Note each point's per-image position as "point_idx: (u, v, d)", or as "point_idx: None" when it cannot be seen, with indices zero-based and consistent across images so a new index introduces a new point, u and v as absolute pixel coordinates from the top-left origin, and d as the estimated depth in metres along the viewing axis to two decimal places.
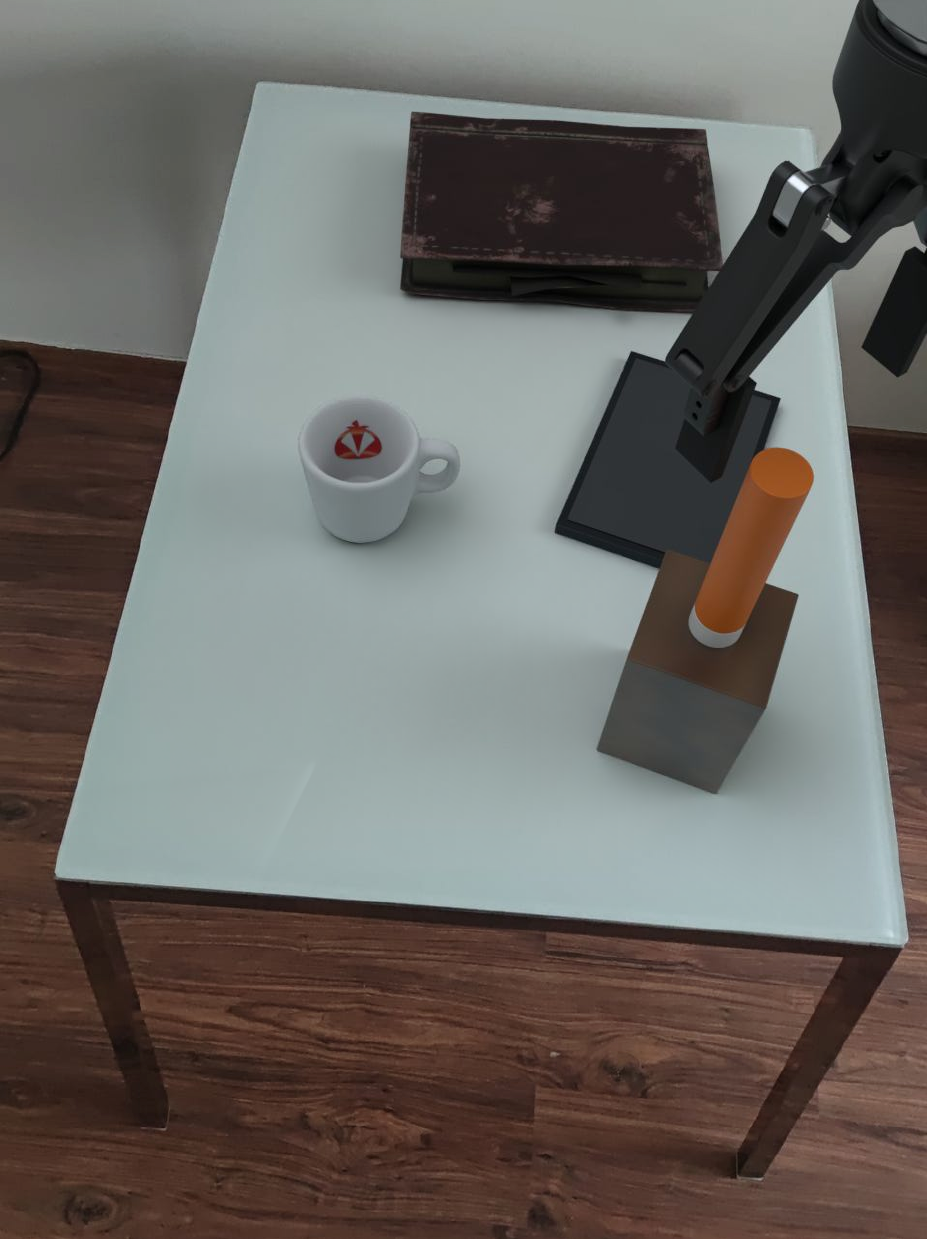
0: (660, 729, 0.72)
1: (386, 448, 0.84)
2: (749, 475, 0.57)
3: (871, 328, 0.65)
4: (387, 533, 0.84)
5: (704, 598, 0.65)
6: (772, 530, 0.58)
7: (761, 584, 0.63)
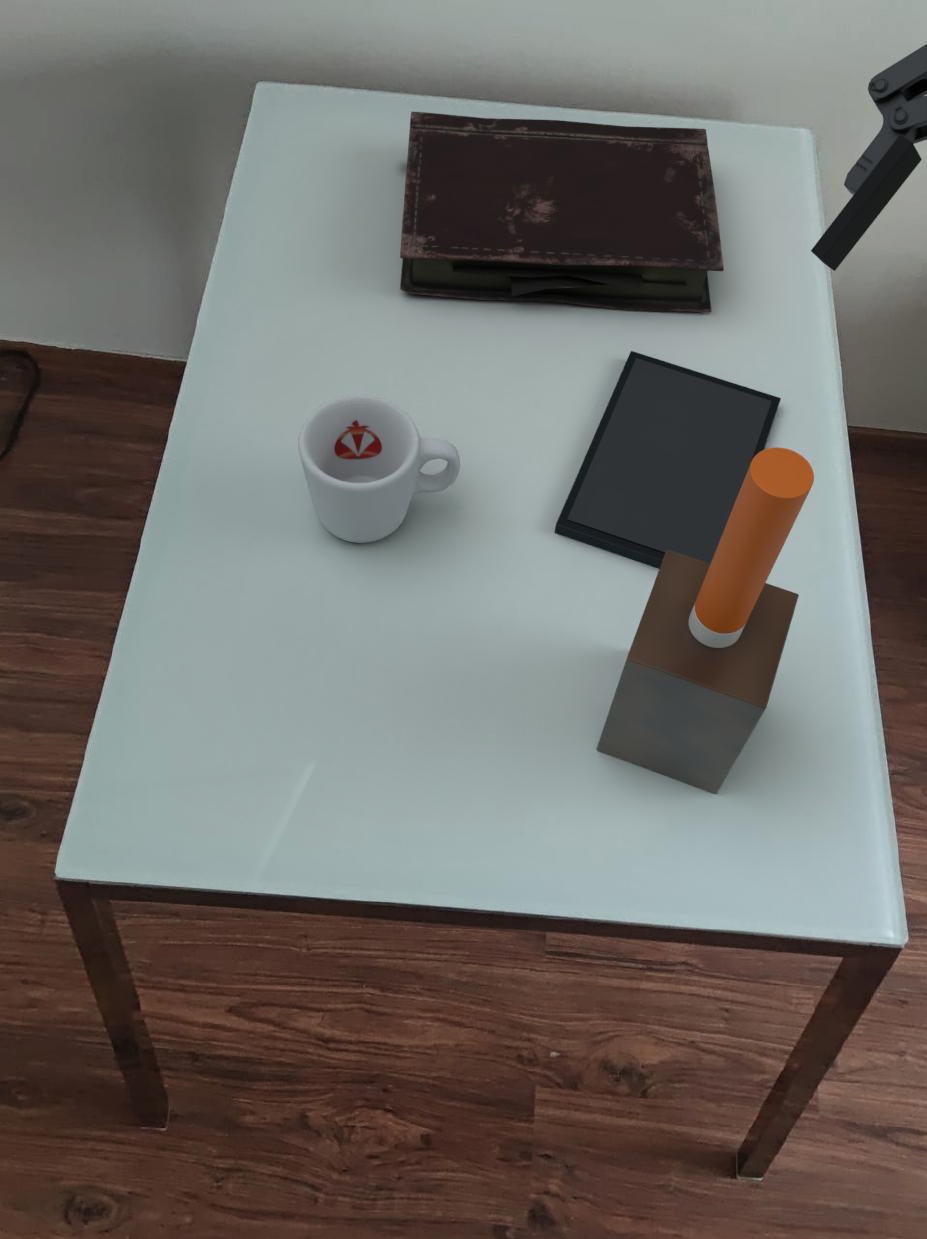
0: (660, 729, 0.72)
1: (386, 448, 0.84)
2: (749, 475, 0.57)
3: None
4: (387, 533, 0.84)
5: (704, 598, 0.65)
6: (772, 530, 0.58)
7: (761, 584, 0.63)
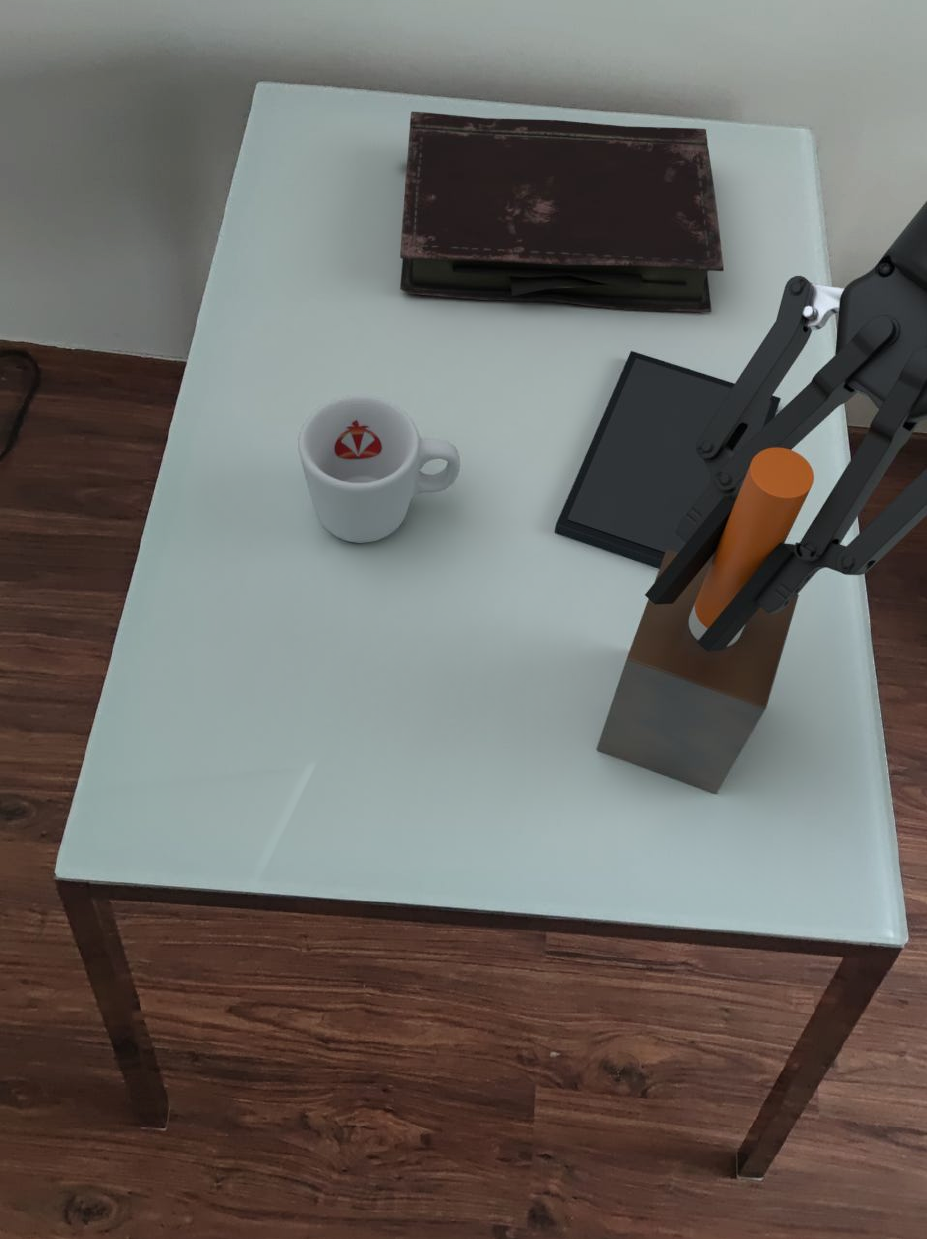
0: (660, 729, 0.72)
1: (386, 448, 0.84)
2: (749, 475, 0.57)
3: None
4: (387, 533, 0.84)
5: (704, 598, 0.65)
6: (772, 530, 0.58)
7: None
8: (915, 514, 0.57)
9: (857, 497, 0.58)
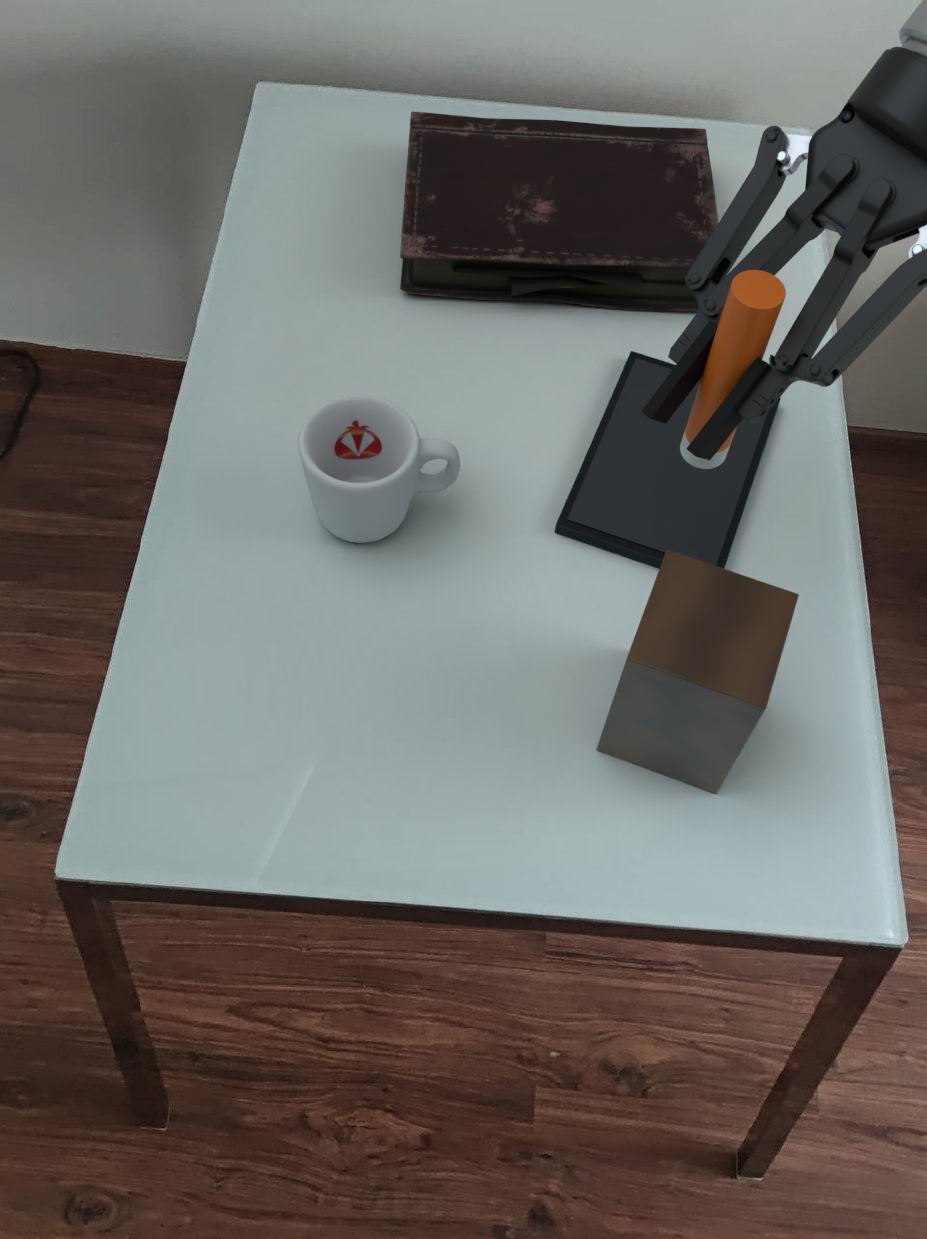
0: (660, 729, 0.72)
1: (386, 448, 0.84)
2: (730, 292, 0.67)
3: None
4: (387, 533, 0.84)
5: (693, 419, 0.75)
6: (750, 343, 0.68)
7: None
8: (872, 324, 0.66)
9: (823, 313, 0.67)
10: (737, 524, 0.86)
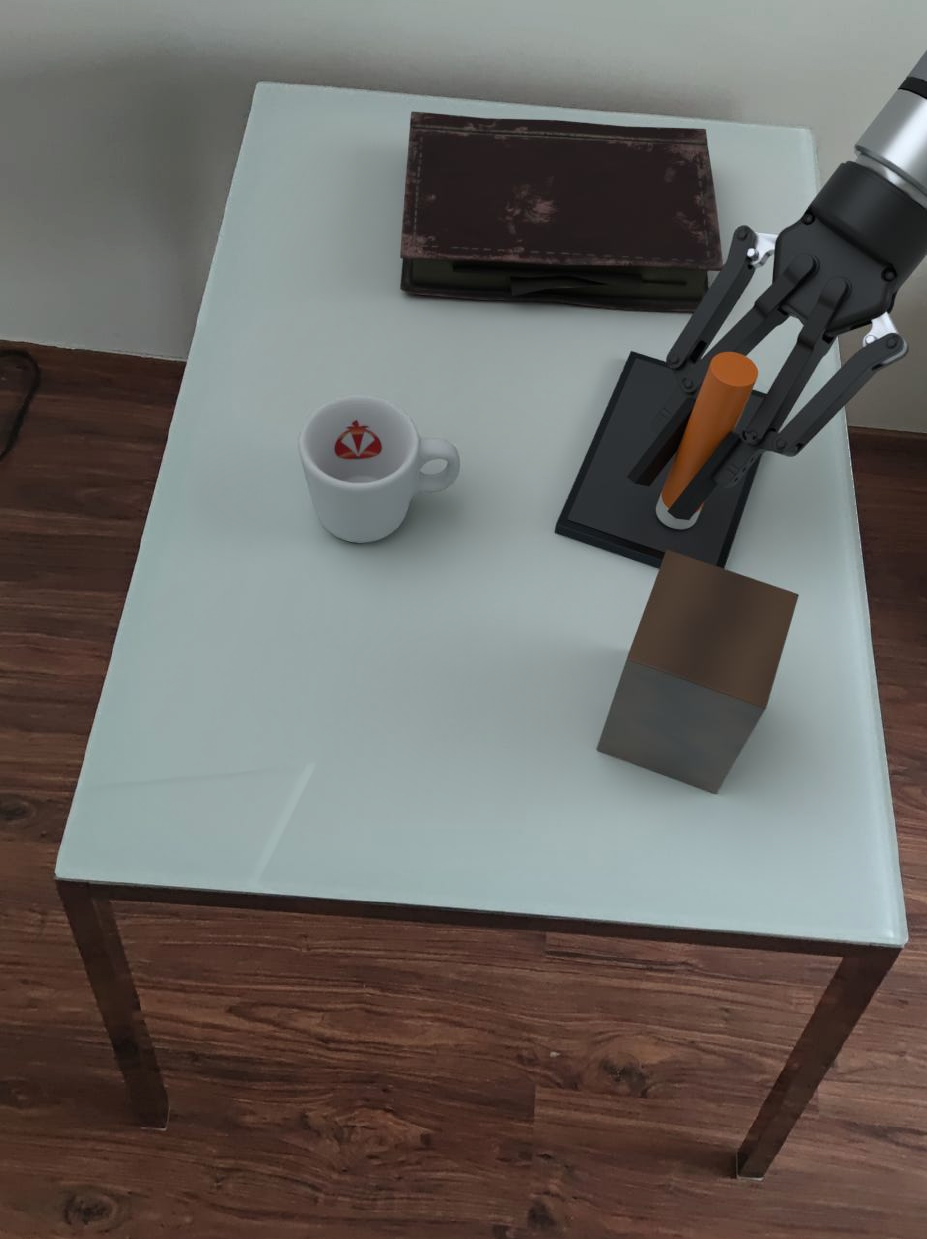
0: (660, 729, 0.72)
1: (386, 448, 0.84)
2: (709, 370, 0.75)
3: None
4: (387, 533, 0.84)
5: (670, 484, 0.83)
6: (726, 416, 0.76)
7: None
8: (831, 405, 0.74)
9: (788, 394, 0.76)
10: (737, 524, 0.86)
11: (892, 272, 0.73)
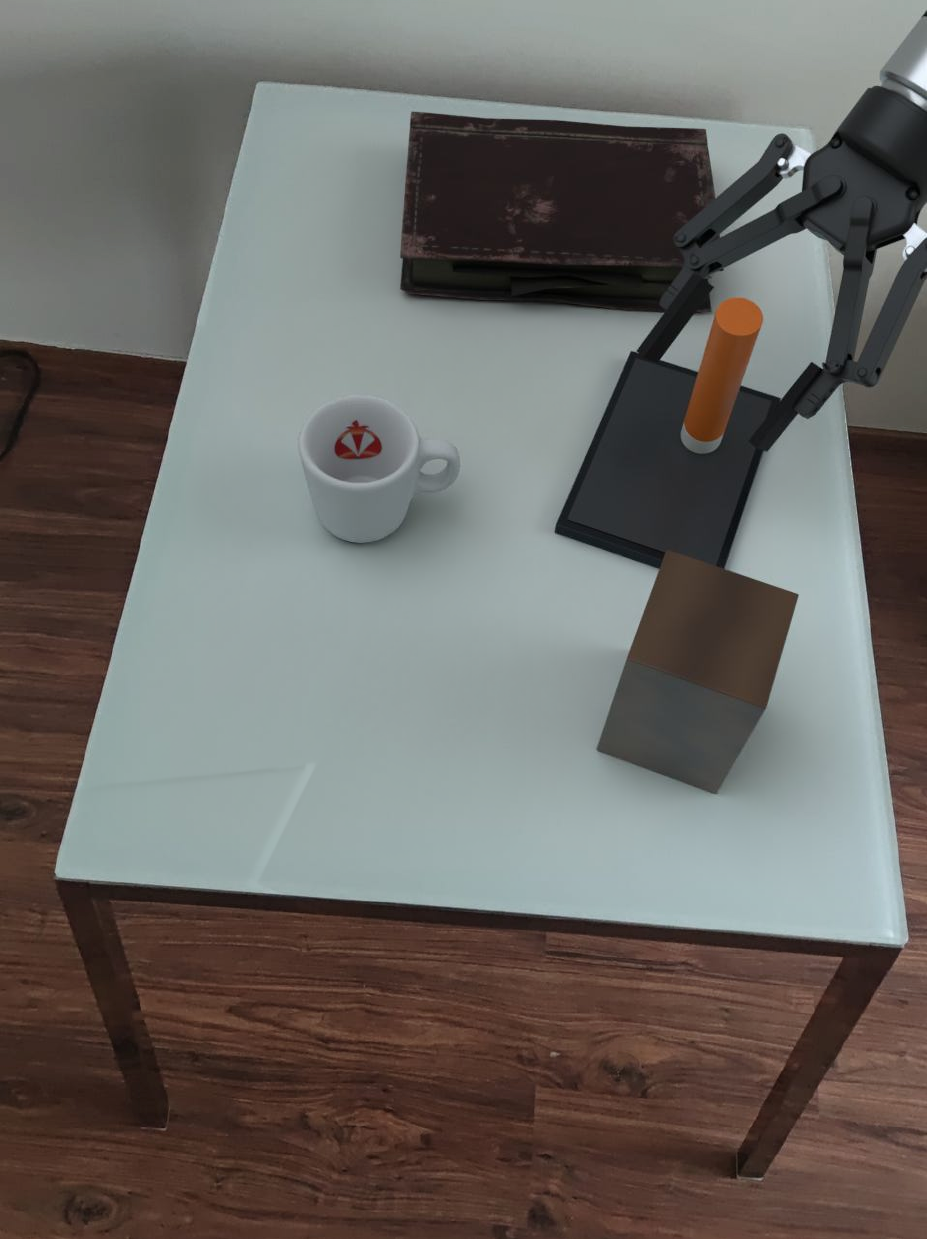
0: (660, 729, 0.72)
1: (386, 448, 0.84)
2: (715, 319, 0.77)
3: None
4: (387, 533, 0.84)
5: (690, 415, 0.86)
6: (734, 360, 0.79)
7: (731, 402, 0.84)
8: (896, 320, 0.77)
9: (853, 316, 0.79)
10: (737, 524, 0.86)
11: (916, 191, 0.77)
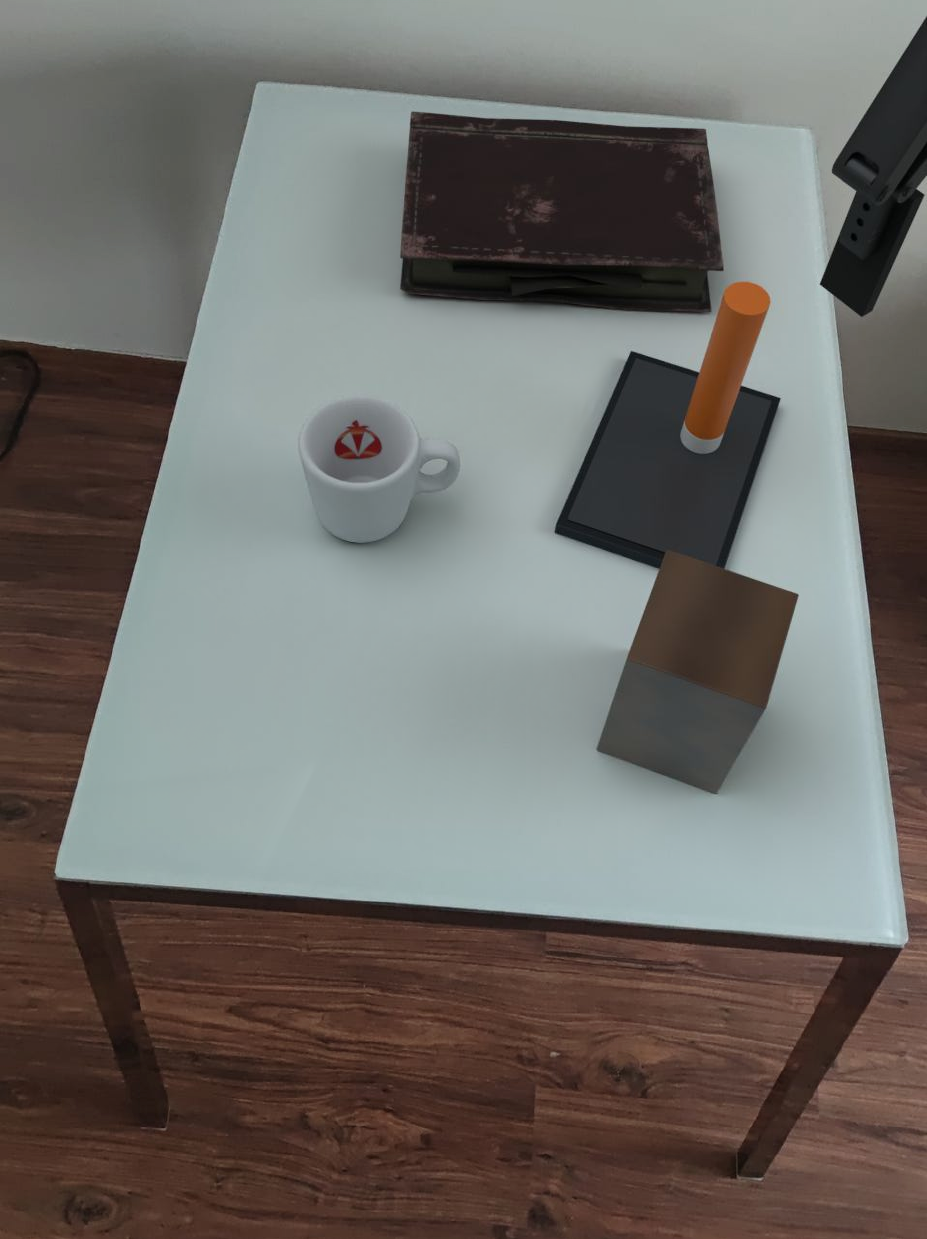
0: (660, 729, 0.72)
1: (386, 448, 0.84)
2: (723, 300, 0.78)
3: None
4: (387, 533, 0.84)
5: (691, 410, 0.87)
6: (741, 344, 0.80)
7: (734, 394, 0.84)
8: None
9: None
10: (737, 524, 0.86)
11: None
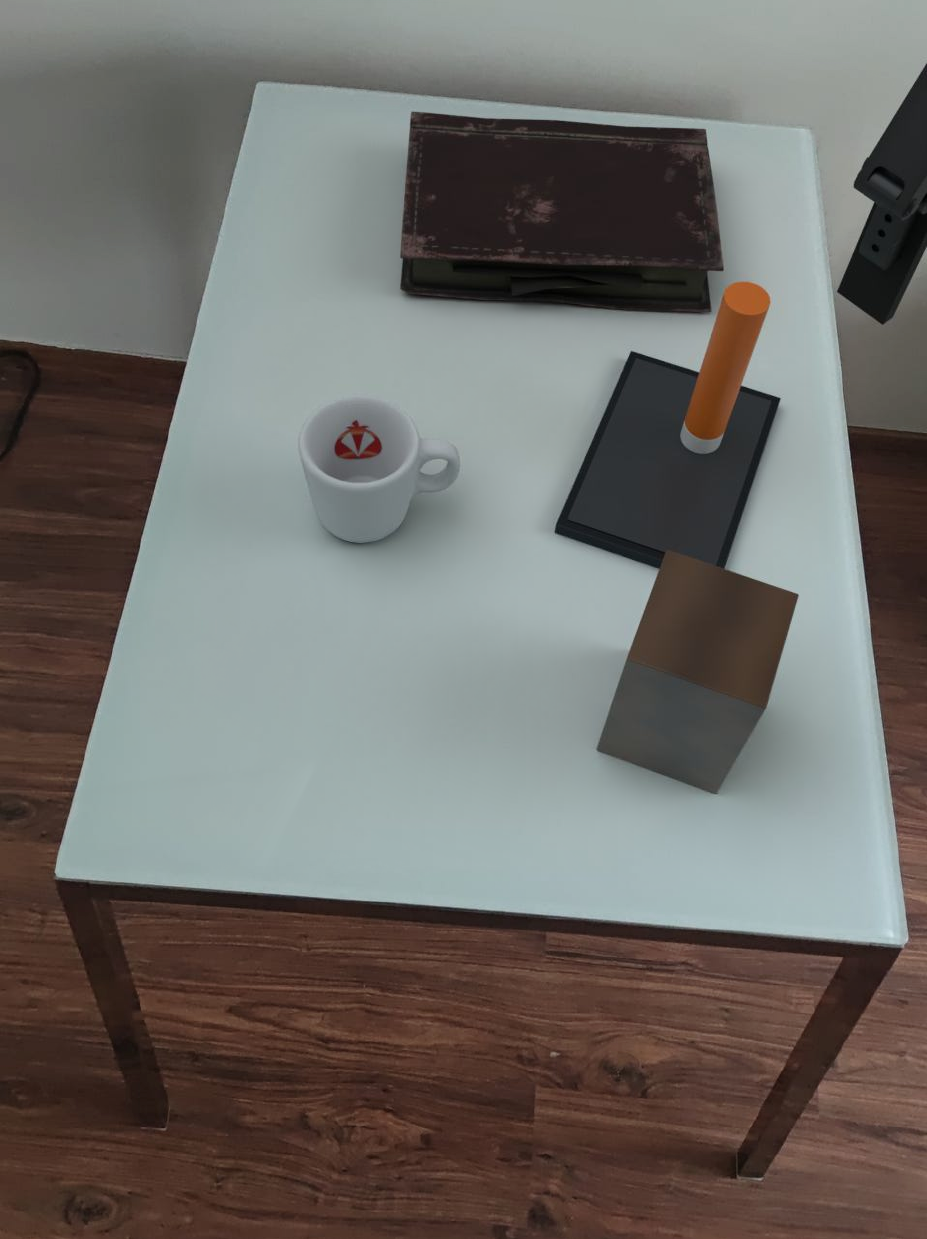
0: (660, 729, 0.72)
1: (386, 448, 0.84)
2: (723, 300, 0.78)
3: None
4: (387, 533, 0.84)
5: (691, 410, 0.87)
6: (741, 344, 0.80)
7: (734, 394, 0.84)
8: None
9: None
10: (737, 524, 0.86)
11: None
